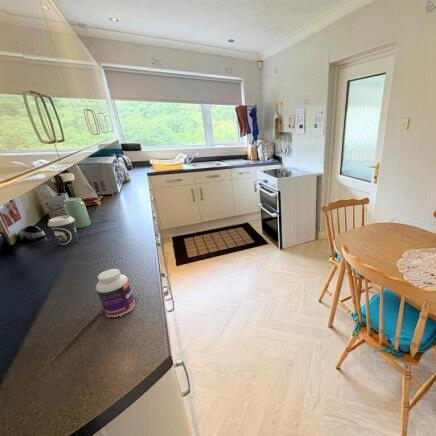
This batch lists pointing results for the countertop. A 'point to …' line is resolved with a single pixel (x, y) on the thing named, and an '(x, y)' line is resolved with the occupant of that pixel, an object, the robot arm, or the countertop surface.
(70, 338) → the countertop surface
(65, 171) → the robot arm
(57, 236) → the coffee cup
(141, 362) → the countertop surface
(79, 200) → the thermos
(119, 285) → the pill bottle
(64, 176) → the thermos lid
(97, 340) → the countertop surface
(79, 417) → the countertop surface
